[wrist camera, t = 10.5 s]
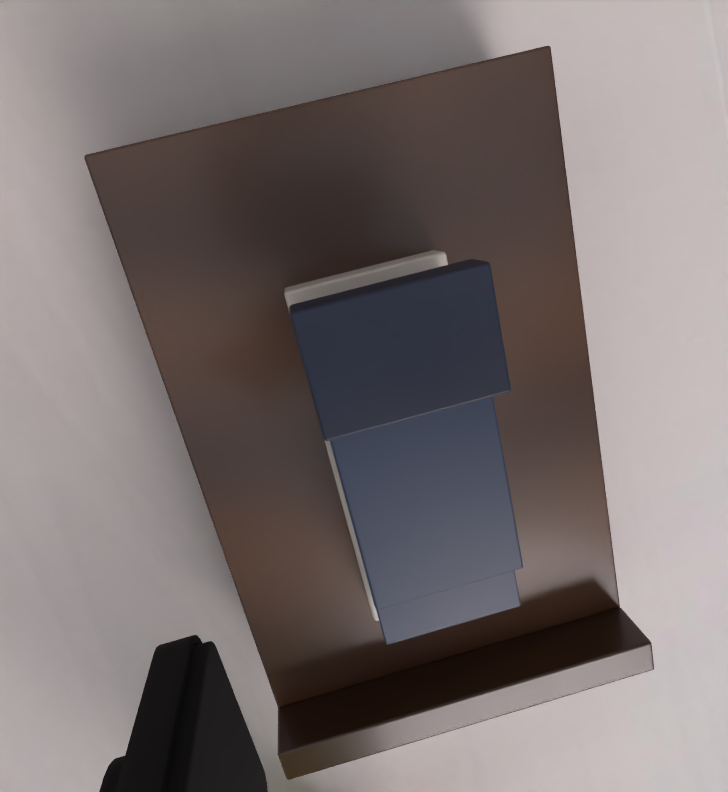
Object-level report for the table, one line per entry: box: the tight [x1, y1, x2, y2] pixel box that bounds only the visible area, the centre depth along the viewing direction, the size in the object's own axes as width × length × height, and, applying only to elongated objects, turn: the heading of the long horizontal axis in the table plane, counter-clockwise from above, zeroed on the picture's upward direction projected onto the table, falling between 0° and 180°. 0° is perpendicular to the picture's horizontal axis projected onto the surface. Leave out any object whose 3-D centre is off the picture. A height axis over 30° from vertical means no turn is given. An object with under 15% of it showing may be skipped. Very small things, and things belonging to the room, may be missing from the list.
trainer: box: [284, 250, 523, 645], centre depth 17 cm, size 11×5×5 cm, turn 13°
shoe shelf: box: [85, 46, 654, 780], centre depth 20 cm, size 20×13×6 cm, turn 13°
